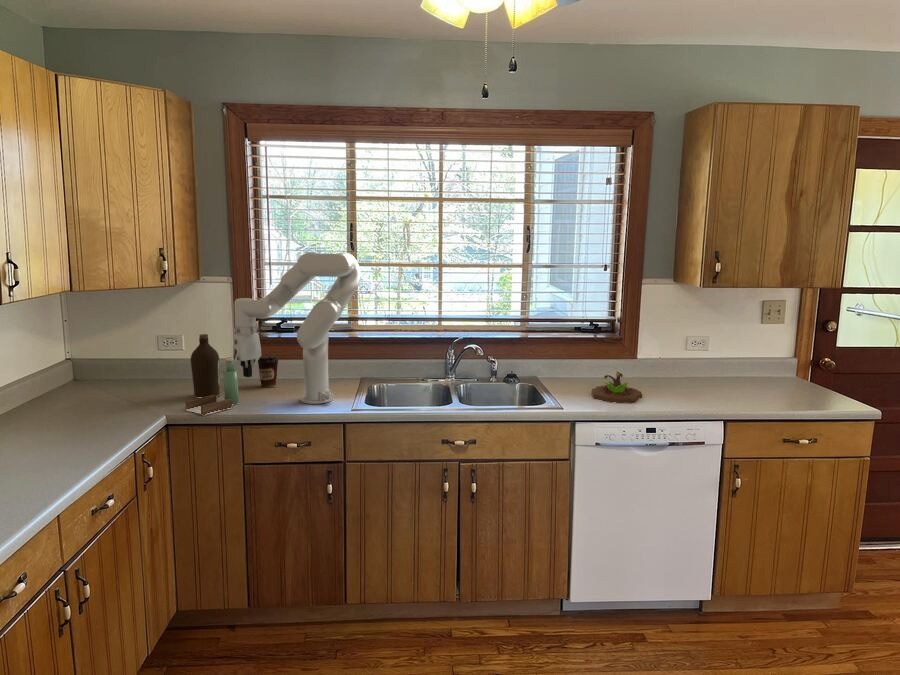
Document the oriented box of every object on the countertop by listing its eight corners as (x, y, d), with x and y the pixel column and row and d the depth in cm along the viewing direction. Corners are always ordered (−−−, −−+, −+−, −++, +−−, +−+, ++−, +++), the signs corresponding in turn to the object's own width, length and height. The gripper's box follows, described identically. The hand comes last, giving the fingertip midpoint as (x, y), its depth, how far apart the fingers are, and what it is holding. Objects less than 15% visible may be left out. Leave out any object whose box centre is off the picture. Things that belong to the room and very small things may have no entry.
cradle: (232, 408, 240) (231, 399, 239) (203, 416, 230) (203, 406, 229) (214, 403, 246) (213, 394, 245) (185, 410, 236) (185, 401, 236)
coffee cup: (275, 389, 268) (274, 358, 266) (256, 388, 269) (254, 358, 266) (281, 384, 277) (280, 354, 275) (262, 383, 277) (261, 354, 275)
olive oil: (198, 401, 249) (194, 337, 245) (189, 395, 257) (185, 334, 253) (225, 396, 256) (221, 335, 251) (215, 391, 264) (212, 331, 260)
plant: (588, 401, 256) (589, 373, 254) (593, 389, 274) (595, 363, 272) (640, 406, 249) (642, 378, 247) (642, 393, 267) (644, 367, 265)
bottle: (241, 403, 247) (239, 357, 244) (230, 406, 243) (228, 359, 240) (233, 401, 250) (231, 356, 246) (222, 404, 246) (219, 358, 242)
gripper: (235, 333, 240) (237, 381, 243) (267, 329, 252) (269, 374, 255) (223, 331, 244) (225, 378, 247) (255, 327, 256) (257, 371, 259)
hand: (247, 376), depth 251 cm, fingers closed
